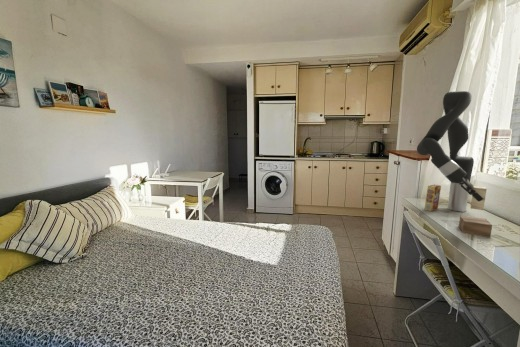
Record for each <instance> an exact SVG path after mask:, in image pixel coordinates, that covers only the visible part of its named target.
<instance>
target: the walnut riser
mask: <svg viewBox="0 0 520 347" xmlns="http://www.w3.org/2000/svg"><path fill="white" fill-rule="evenodd" d="M458 228H459V229H460V231H461V233H462V232H463V234H466V233H468V235H473V236H481V237H487V238H491V237H492V229H493V224H492V223H491V222H490V221H489V220H488V219H487V218H483V217H475V216H468V215H467V216H466V215H459V221H458Z"/></svg>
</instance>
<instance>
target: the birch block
mask: <svg viewBox="0 0 520 347" xmlns="http://www.w3.org/2000/svg"><path fill="white" fill-rule="evenodd" d="M473 186H474V185H473ZM474 190H475V191H477V193H478V194H479V195H480V196H481V197H482V198H483V200H481V201H477V200H476V199H475V198H474V197H473V196H472V195H471V202H470V209H471V210H472V209H473V210H480V211H484V207H485V202H486V197H487V196H486V195H487V187H484V186H483V187H482V186H474Z"/></svg>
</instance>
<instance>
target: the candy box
mask: <svg viewBox="0 0 520 347" xmlns="http://www.w3.org/2000/svg"><path fill="white" fill-rule="evenodd" d="M441 188H442V185H439V184H432V185H428V186H427V189H426V197H425V204H424V210H425V211H429V212H432V211H437V210H438V209H439V202H440V198H441V197H440V196H441Z"/></svg>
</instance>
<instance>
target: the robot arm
mask: <svg viewBox="0 0 520 347" xmlns="http://www.w3.org/2000/svg"><path fill="white" fill-rule="evenodd" d="M472 98H473V97H472V93H471V92H470V91H464V90H463V91H462V90H461V91H449V92H446V93H445V94H444V96H443V98H442V99H443V100H442V107H443V110H444V111H443V112H444V115H443V116H441V117H440V118H438V119H437V120H435V122H434V123H433V124H432V125H431V127H430V128H429V130H428V131H427V133H426V134H425V135H424V137H423V138H422V139H421V140H420V142H419V143H417V146H416V151H417V154H419V155H422V156H427V155H429V156H430V157H431V160H430V162H431V163H432V164H433V165H434V166H435V167H436V168H437V169H438V170H439V172H440V173H441V174H442V175H443V176H444V177H445V178H446V179H447V180H448V181H449V182H450V184H449V185H450V186H449V194H448V198H447V199H448V201H447V206H446V207H447V210H450V211H454V212H461V213H462V212H464V213H465V212H467V206H468V199H469V195H470V196H471V197H472V196H473V197H474V198H475V199H476V200H477V201H481V200H483V198H482V197H481V196H480V195H479V194H478V193H477V191H475V190H474V184H472V182H471V179H472V173H473V168H474V164H475V161H474V158H473V157H472V156H465V155H464V156H463V155H461V156H459V155H458V153H459V151H460V150H461V149H462V148H463V147H464V146H465V144H467V142H468V140H469V128H468V126H467V124H466V123H465V122H464V120H462V119H461V117H460V116H461V115H462V114H463V113H464V112H465V111H466V110H467V109H468V107H469V106H470V105H471V102H472V100H473V99H472ZM446 132H447V138H448V139H447V140H448V141H447V142H448V147H449V148H448V149H449V156H448V155H447V154H446V152H445V151H444V149H443V148H442V146H441V145H440V143H439V141H440V140H442V138H443V137H444V135H445V134H446Z"/></svg>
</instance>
